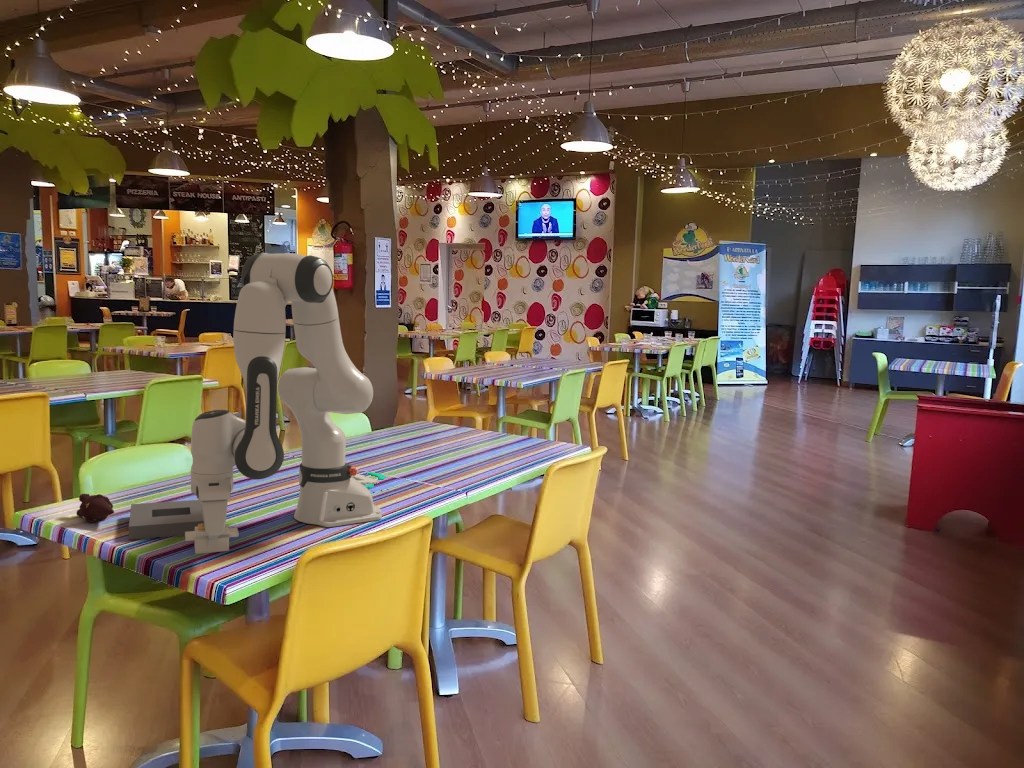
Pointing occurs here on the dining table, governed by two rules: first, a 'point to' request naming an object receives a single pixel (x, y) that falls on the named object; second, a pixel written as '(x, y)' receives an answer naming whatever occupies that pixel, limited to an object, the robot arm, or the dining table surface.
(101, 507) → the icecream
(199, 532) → the servo
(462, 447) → the dining table surface
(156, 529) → the grey board with hole
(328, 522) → the robot arm
